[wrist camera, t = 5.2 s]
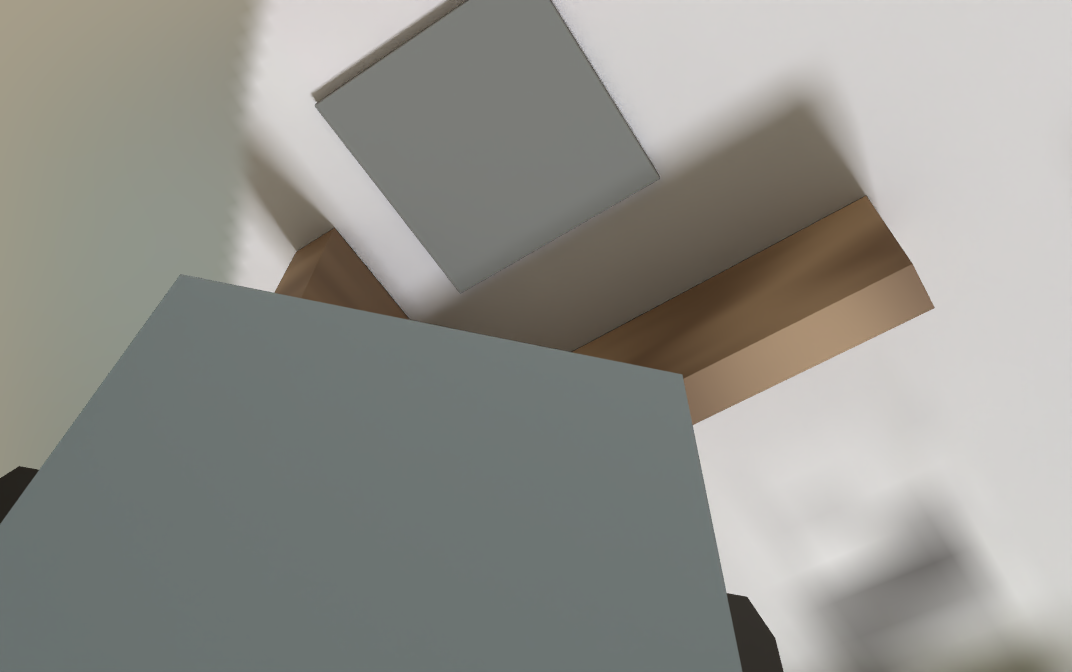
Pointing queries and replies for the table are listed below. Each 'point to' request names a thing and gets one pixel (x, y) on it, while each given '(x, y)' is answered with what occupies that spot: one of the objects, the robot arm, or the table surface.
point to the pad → (489, 135)
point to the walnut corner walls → (714, 307)
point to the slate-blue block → (363, 506)
